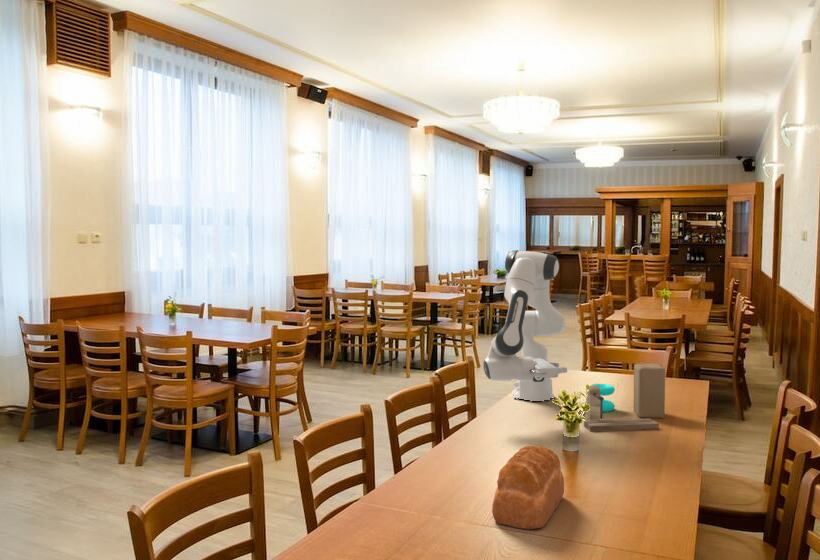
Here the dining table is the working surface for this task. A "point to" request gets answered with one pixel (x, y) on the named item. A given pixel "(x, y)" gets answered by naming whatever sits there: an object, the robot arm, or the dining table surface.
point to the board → (621, 425)
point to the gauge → (594, 404)
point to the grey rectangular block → (649, 390)
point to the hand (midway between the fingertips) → (562, 367)
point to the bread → (528, 488)
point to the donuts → (604, 391)
